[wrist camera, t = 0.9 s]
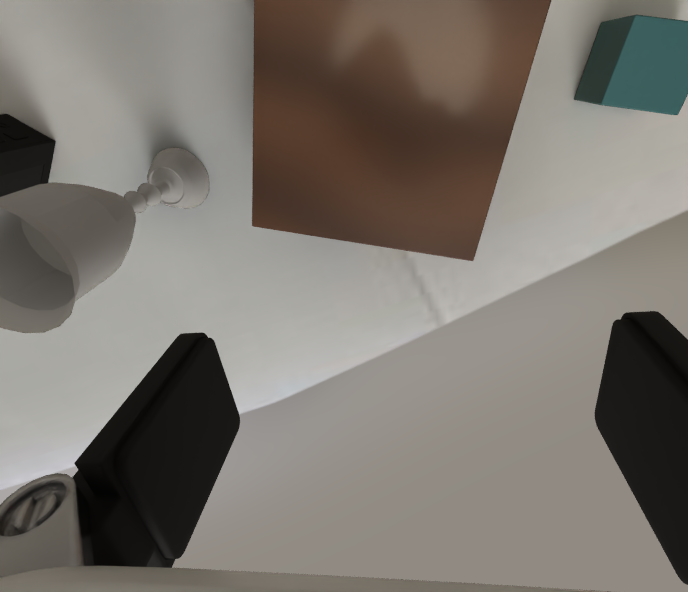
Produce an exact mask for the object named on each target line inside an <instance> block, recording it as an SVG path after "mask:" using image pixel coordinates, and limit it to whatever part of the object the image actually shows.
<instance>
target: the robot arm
mask: <svg viewBox="0 0 688 592" xmlns="http://www.w3.org/2000/svg"><path fill="white" fill-rule="evenodd" d="M595 420H596V424H597V427H598V429H599V431H600V433H601V435H602V437H603V438H604V440H605V442H606V444H607V446H608V448H609V450H610V451H611V453H612V455H613V457H614V459H615V461H616V462H617V464H618V466H619V468H620V470H621V472H622V474H623V475H624V477H625V479H626V481H627V483H628V485H629V486H630V488H631V490H632V492H633V494H634V496H635V498H636V500H637V501H638V503H639V505H640V507H641V509H642V511H643V513H644V514H645V516H646V518H647V520H648V522H649V524H650V525H651V527H652V529H653V531H654V533H655V534H656V537H657V538H658V540H659V542H660V544H661V546H662V548H663V550H664V551H665V553H666V555H667V557H668V559H669V561H670V562H671V564H672V566H673V568H674V570H675V571H676V573H677V575H678V577H679V578H680V579H681V580H682V581H683V583H685V584H687V585H688V340H687V339H686V338H685V337H684V336H683V335H682V334H681V333H680V332H679V331H678V330H677V329H676V328H675V327H674V326H673V325H672V324H671V323H670V322H669V321H668V320H667V319H665V317H664V316H663V315H661V314H660V313H659V312H655V311H650V312H630V313H625V314H624V315H623V316H622V318H621V320H616V321H614V323H613V326H612V330H611V335H610V340H609V345H608V350H607V355H606V359H605V364H604V369H603V374H602V379H601V384H600V389H599V394H598V399H597V403H596V408H595ZM239 425H240V417H239V413H238V410H237V407H236V404H235V401H234V398H233V395H232V392H231V390H230V387H229V384H228V381H227V378H226V375H225V372H224V369H223V366H222V363H221V360H220V357H219V354H218V351H217V348H216V345H215V342H214V340H213V339H212V338H208V337H207V335H206V334H205V333H185V334H180V335H179V336H178V337H177V338H176V339H175V340H174V342H173V343H172V344H171V345H170V347H169V348H168V349H167V350H166V352H165V353H164V354H163V355H162V356H161V358H160V359H159V360H158V361H157V363H156V364H155V365H154V366H153V367H152V369H151V370H150V371H149V372H148V374H147V375H146V376H145V377H144V379H143V380H142V381H141V382H140V383H139V385H138V386H137V387H136V388H135V390H134V391H133V392H132V393H131V394H130V396H129V397H128V398H127V399H126V401H125V402H124V403H123V404H122V406H121V407H120V408H119V409H118V410H117V412H116V413H115V414H114V415H113V417H112V418H111V419H110V420H109V421H108V423H107V424H106V425H105V426H104V428H103V429H102V430H101V431H100V432H99V434H98V435H97V436H96V437H95V439H94V440H93V441H92V442H91V444H90V445H89V446H88V447H87V448H86V450H85V451H84V452H83V453H82V455H81V456H80V457H79V458H78V459H77V461H76V462H75V465H76V466H77V468H78V469H79V470H78V471H77V473H76V474H75V475H74V476H73V478H72V477H70V476H69V475H67V474H58V473H57V474H51V475H46V476H43V477H41V478H38V479H35V480H33V481H31V482H29V483H28V484H26V485H25V486H22V487H21V488H19V489H18V490H17V491H15V492H14V493H13V494H11V495H10V496H9V497H7V498H6V500H4V501H3V503H2V504H1V505H0V592H609V591H592V590H575V589H559V588H541V587H525V586H508V585H492V584H475V583H457V582H438V581H419V580H403V579H385V578H366V577H347V576H328V575H308V574H290V573H269V572H249V571H248V572H247V571H229V570H207V569H187V568H172V565H173V563H174V561H175V559H178V558H180V557H181V556H182V554H183V553H184V551H185V549H186V547H187V545H188V542H189V540H190V538H191V535H192V534H193V531H194V529H195V527H196V524H197V522H198V520H199V518H200V515H201V513H202V511H203V509H204V506H205V504H206V502H207V500H208V497H209V495H210V493H211V491H212V488H213V486H214V484H215V481H216V479H217V477H218V475H219V473H220V470H221V468H222V466H223V463H224V461H225V459H226V457H227V454H228V452H229V450H230V448H231V445H232V443H233V441H234V438H235V436H236V434H237V432H238V429H239Z"/></svg>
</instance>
